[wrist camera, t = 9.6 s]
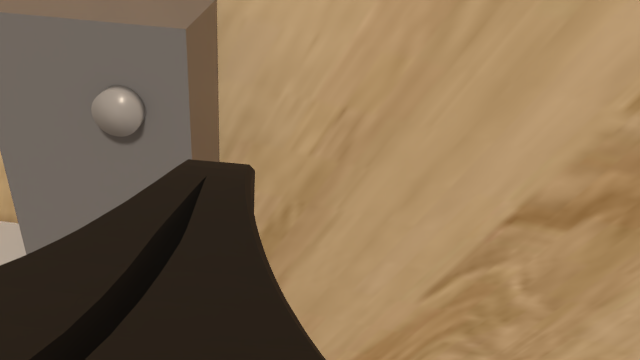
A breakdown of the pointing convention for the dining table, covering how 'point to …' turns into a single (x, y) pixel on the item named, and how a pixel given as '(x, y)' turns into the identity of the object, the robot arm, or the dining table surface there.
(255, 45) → the dining table surface
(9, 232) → the side door
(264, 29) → the dining table surface
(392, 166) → the dining table surface
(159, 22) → the camera case
